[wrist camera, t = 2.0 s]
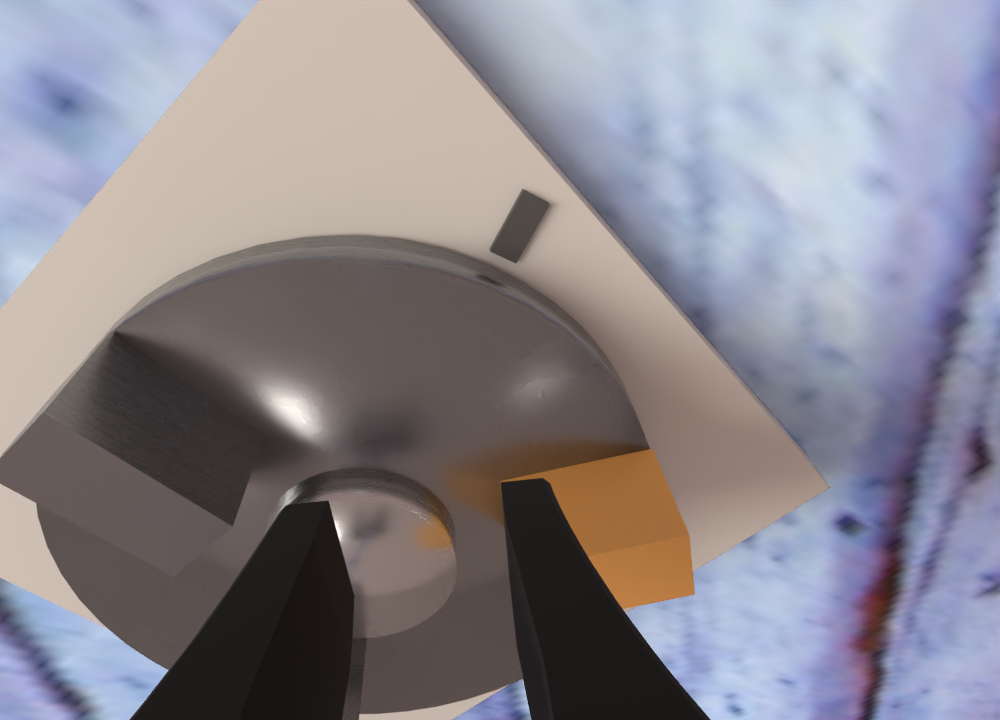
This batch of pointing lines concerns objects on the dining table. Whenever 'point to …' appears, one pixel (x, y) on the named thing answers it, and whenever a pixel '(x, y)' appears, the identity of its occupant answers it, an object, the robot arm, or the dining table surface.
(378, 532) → the rotary indexing table
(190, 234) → the plate
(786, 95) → the dining table surface
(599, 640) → the robot arm
